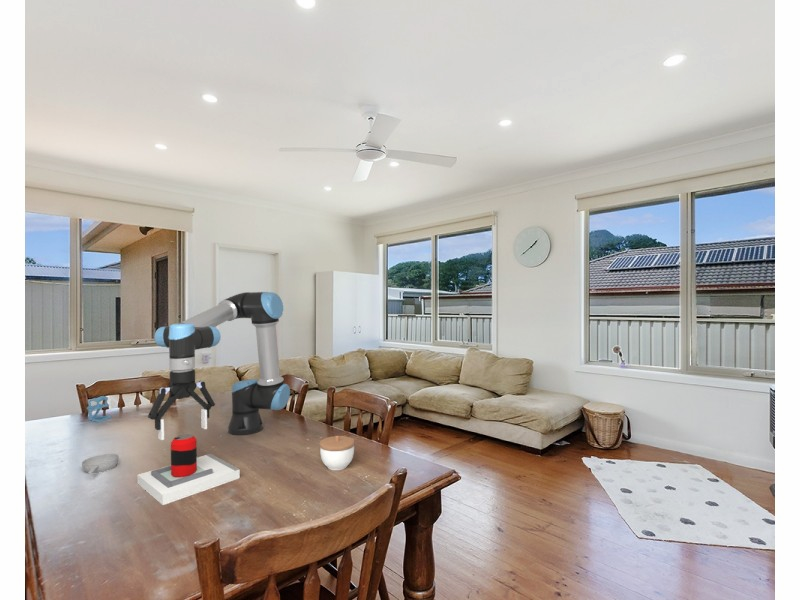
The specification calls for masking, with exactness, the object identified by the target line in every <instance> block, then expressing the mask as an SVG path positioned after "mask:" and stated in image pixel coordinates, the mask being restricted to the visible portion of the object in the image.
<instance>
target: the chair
mask: <svg viewBox="0 0 800 600" xmlns="http://www.w3.org/2000/svg"><path fill="white" fill-rule="evenodd" d="M108 400H109V397H107V396H105V395H101V396H98V397H93V398H92V399H88V400H87V402H88V406H87V407H86V409H87V410H88V421H90V420H92V422H96V423H100V422H104V421H106V420H110V419H111V418H112V415H106V416H103V415H101V416H98V414H99V412H100V411H101V409H102V408H107V407H109V406H110V404H109V403H108ZM102 401H104V403H103V404H102V403H100V402H102ZM91 402H96V404H94V405H92V403H91ZM94 410H96V411H95V413H94V414H93V411H94Z"/></svg>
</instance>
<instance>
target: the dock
mask: <svg viewBox="0 0 800 600" xmlns="http://www.w3.org/2000/svg"><path fill="white" fill-rule="evenodd" d="M240 472H241V471H240V468H238V467H236V466H234V465H233V464H231V463H229V462H227V461H225V460H224V459H222V458H219V457H217V456H215V455H214V454H212V453H208V454H205V455H202V456H201V455H200V456H197V470H196V472H195V473H194V474H192V475H189V476H186V477H173V476H172V475H171V464H170V465H166V466H163V467H160V468H156V469H153V470H148V471H146V472H142V473H138V474H137V485H138V484H139V485H138V486H139V487H141V488H142V489H143V490H144V491H145V490H146V491H145V492H147V493H148V494H149V495H150V496H151V497H153V498H154V500H156V501H157V502H158V503H159V504H160V505H162V506H164V505H168V504H171V503H173V502H176V501H178V500H179V501H180V500H182V499H184V498H187V497H190V496H192V495H197V494H199V493H202V492H204V491H207V490H210V489H212V488H216V487H218V486H221V485H224V484H227V483H230V482H234V481H236V480H238V479H240Z"/></svg>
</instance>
